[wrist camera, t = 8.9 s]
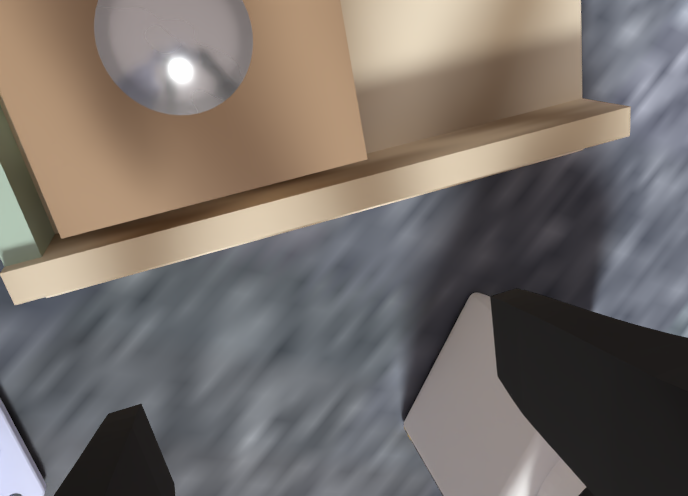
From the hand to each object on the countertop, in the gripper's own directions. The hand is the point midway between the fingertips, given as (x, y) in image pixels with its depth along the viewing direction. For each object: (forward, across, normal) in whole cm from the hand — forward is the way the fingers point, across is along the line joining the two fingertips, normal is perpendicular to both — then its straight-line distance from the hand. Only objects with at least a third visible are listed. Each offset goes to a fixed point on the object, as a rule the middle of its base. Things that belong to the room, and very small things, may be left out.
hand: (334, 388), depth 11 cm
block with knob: (+9, +1, -7) cm, 12 cm away
